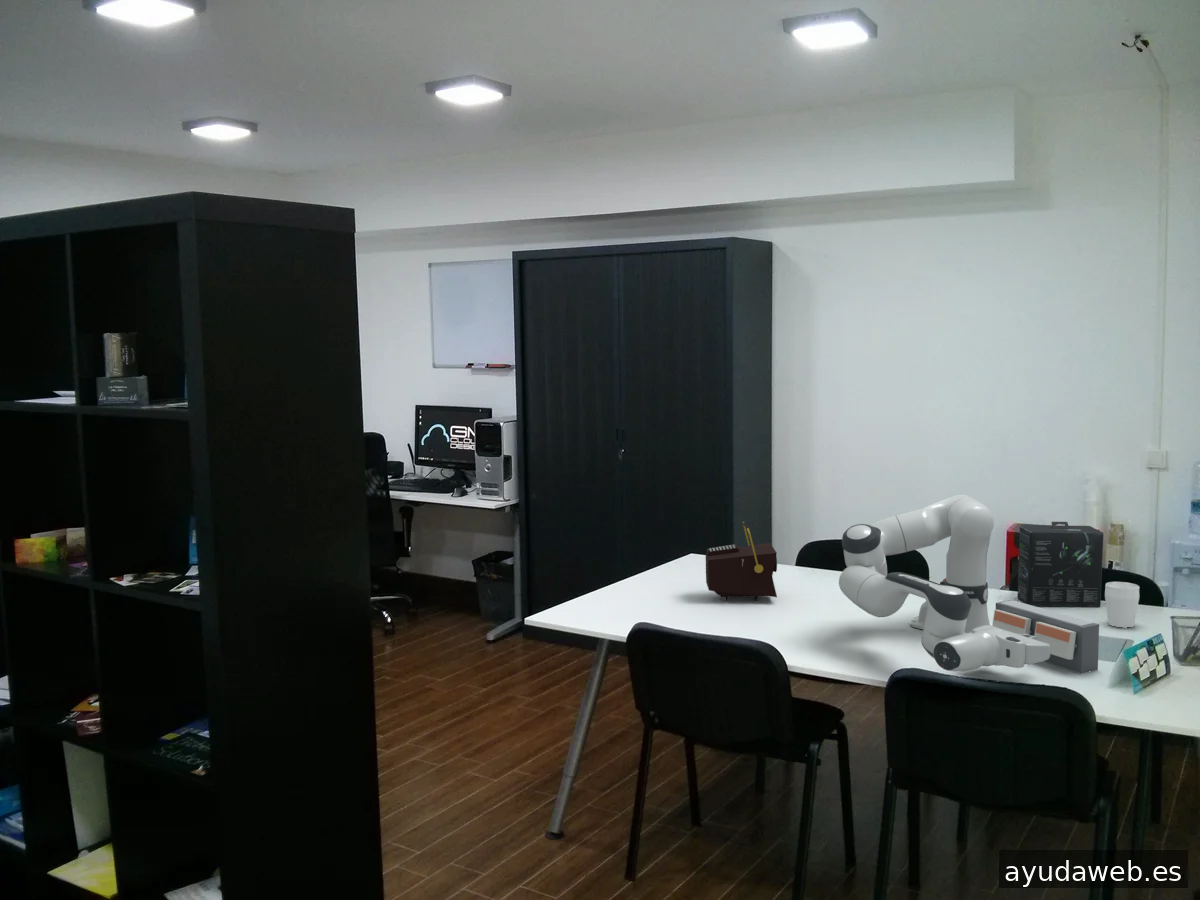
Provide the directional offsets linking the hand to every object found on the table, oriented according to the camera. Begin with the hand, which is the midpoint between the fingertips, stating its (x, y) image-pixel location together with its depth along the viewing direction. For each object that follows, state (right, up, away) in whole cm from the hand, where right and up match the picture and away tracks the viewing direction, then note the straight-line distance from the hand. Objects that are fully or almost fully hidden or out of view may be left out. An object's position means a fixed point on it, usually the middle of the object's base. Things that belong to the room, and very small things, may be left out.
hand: (1032, 638), depth 260 cm
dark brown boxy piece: (-63, -2, +80) cm, 102 cm away
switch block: (+11, -7, +14) cm, 20 cm away
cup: (+43, -4, +39) cm, 58 cm away
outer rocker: (+7, -5, +4) cm, 10 cm away
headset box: (+36, -1, +66) cm, 75 cm away
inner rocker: (+1, -4, +17) cm, 17 cm away
